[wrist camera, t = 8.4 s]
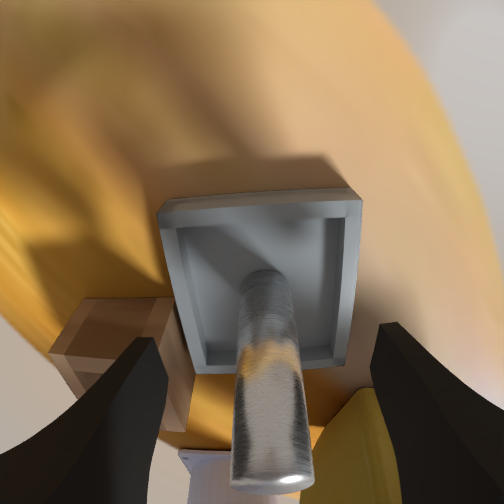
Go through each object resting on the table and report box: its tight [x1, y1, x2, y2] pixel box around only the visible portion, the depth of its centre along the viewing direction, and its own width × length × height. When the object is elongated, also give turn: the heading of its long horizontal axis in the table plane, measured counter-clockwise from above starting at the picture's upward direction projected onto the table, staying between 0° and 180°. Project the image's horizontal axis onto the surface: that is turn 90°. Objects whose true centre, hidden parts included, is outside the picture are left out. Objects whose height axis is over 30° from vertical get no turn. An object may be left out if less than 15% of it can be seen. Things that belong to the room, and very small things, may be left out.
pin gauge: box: [230, 269, 315, 495], centre depth 9 cm, size 2×2×8 cm
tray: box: [156, 187, 363, 374], centre depth 13 cm, size 8×7×2 cm
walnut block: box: [48, 297, 196, 432], centre depth 13 cm, size 5×5×4 cm
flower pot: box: [300, 388, 402, 504], centre depth 14 cm, size 9×9×9 cm
